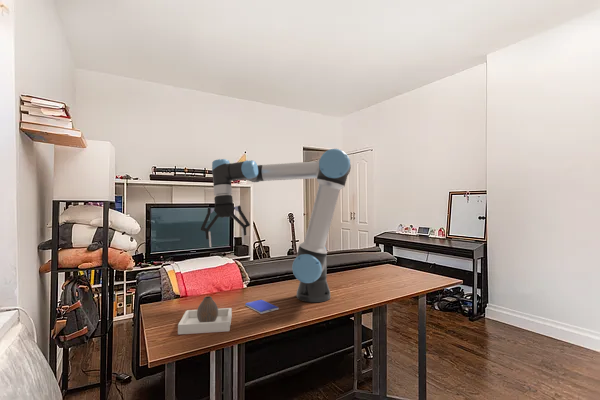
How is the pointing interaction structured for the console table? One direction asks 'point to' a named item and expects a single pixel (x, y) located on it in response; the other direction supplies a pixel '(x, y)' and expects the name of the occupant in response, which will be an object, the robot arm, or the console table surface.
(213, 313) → the vase
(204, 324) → the box
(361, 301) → the console table surface
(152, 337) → the console table surface
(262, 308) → the hard drive
